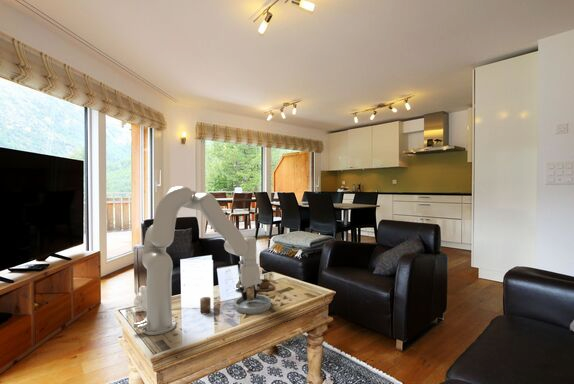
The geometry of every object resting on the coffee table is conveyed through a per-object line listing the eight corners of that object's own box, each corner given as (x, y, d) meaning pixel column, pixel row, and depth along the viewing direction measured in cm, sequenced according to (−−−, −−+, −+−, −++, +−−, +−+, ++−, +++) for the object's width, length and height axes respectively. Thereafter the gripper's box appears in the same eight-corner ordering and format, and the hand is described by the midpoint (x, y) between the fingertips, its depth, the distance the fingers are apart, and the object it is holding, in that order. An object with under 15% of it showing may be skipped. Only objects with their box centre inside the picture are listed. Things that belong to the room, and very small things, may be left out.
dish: (243, 317, 129) (243, 311, 129) (227, 304, 144) (227, 299, 144) (277, 307, 139) (277, 302, 139) (259, 296, 154) (259, 292, 154)
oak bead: (247, 301, 141) (247, 289, 141) (243, 298, 145) (243, 286, 145) (255, 299, 144) (255, 287, 144) (251, 296, 148) (251, 284, 148)
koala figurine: (152, 311, 136) (152, 285, 136) (136, 315, 132) (136, 288, 132) (148, 305, 143) (147, 281, 143) (132, 309, 139) (132, 284, 139)
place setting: (282, 290, 165) (282, 280, 165) (254, 300, 151) (254, 288, 151) (262, 283, 177) (261, 273, 177) (235, 291, 163) (234, 281, 163)
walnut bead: (202, 314, 132) (202, 301, 132) (199, 311, 136) (198, 298, 136) (212, 312, 135) (211, 299, 135) (208, 308, 139) (208, 296, 139)
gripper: (236, 266, 136) (236, 304, 137) (267, 260, 146) (267, 297, 146) (230, 263, 143) (230, 299, 143) (260, 258, 152) (260, 292, 152)
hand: (249, 298), depth 144 cm, fingers closed on oak bead, 4 cm apart
